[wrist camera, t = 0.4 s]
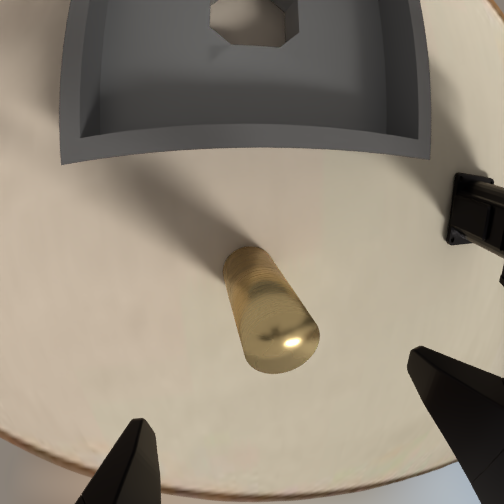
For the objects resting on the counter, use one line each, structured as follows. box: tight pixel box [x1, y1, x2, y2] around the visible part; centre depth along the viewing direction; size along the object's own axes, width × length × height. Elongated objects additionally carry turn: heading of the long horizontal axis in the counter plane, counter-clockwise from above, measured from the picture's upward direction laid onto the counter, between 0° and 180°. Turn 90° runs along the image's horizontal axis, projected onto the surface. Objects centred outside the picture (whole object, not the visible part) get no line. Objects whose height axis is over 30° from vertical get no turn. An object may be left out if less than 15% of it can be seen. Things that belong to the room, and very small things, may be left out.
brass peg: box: [223, 246, 320, 374], centre depth 16 cm, size 3×3×8 cm
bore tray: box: [59, 0, 431, 165], centre depth 12 cm, size 18×16×6 cm
